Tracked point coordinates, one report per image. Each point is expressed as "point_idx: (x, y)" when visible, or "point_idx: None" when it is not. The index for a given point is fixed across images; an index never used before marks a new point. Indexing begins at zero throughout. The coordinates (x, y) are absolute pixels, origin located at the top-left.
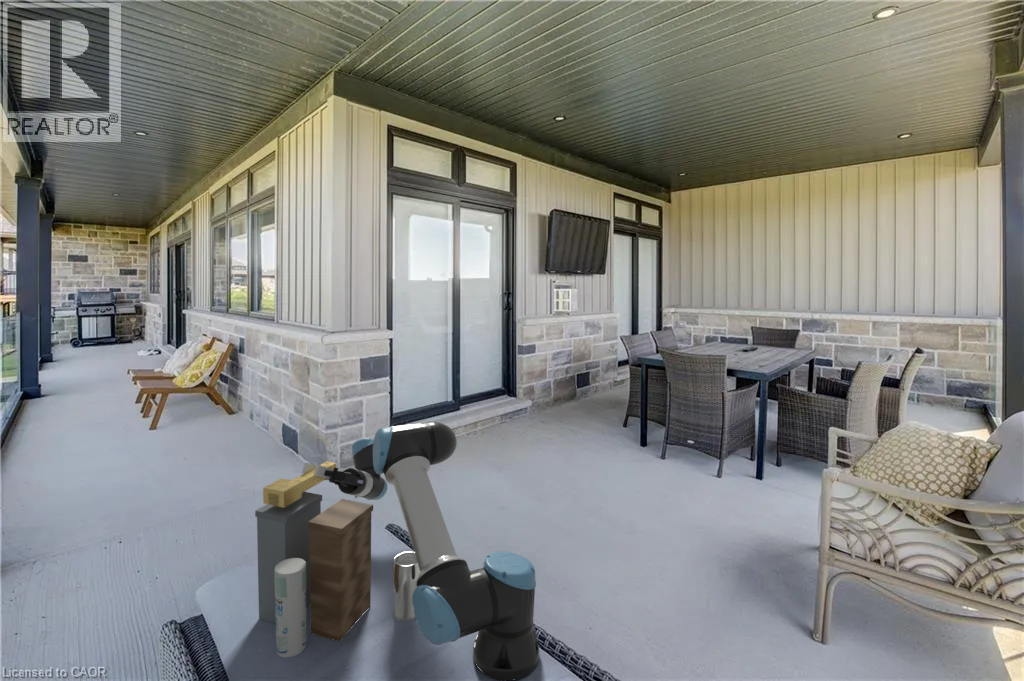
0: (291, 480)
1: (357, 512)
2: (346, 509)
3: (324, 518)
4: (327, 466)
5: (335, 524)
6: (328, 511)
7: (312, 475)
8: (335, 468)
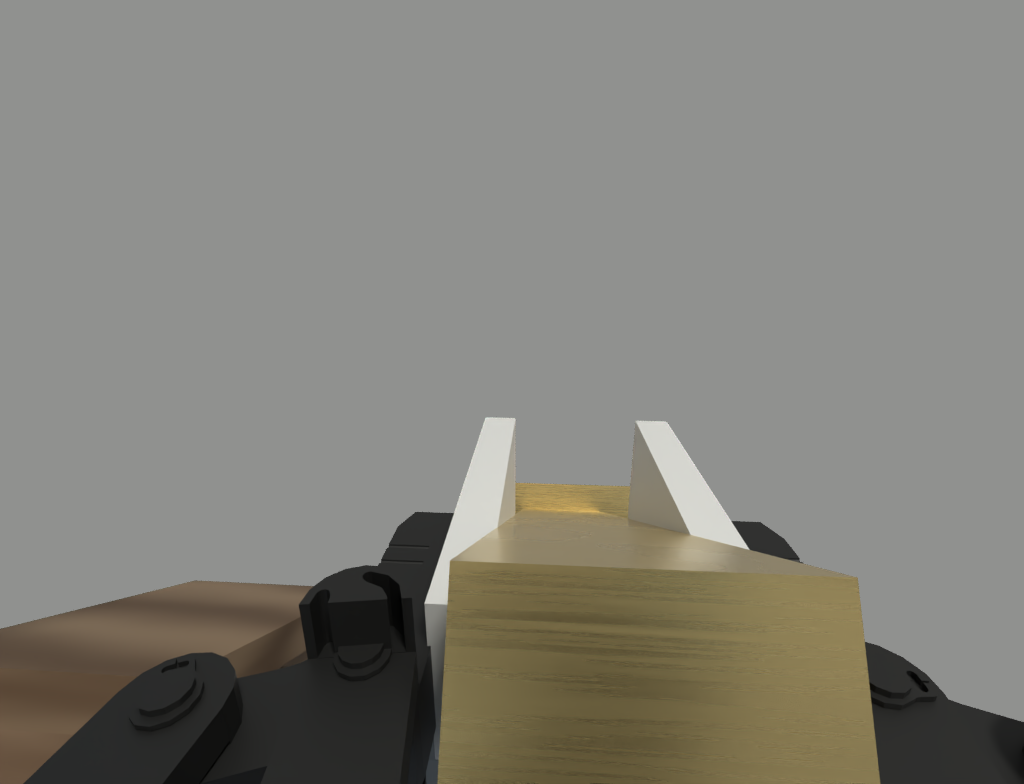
0: (557, 484)
1: (79, 618)
2: (154, 626)
3: (286, 595)
4: (528, 532)
5: (225, 586)
6: (277, 613)
7: (524, 515)
8: (367, 583)
